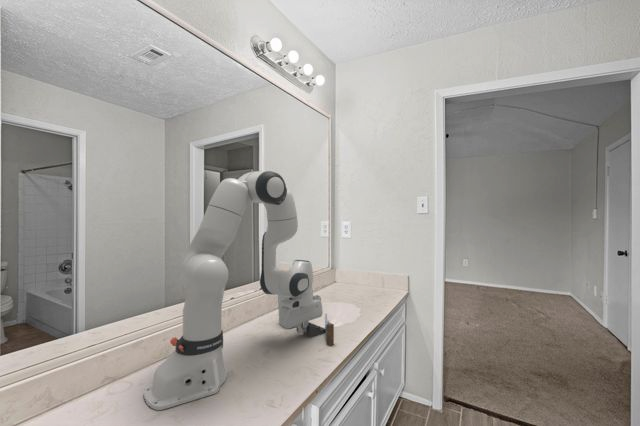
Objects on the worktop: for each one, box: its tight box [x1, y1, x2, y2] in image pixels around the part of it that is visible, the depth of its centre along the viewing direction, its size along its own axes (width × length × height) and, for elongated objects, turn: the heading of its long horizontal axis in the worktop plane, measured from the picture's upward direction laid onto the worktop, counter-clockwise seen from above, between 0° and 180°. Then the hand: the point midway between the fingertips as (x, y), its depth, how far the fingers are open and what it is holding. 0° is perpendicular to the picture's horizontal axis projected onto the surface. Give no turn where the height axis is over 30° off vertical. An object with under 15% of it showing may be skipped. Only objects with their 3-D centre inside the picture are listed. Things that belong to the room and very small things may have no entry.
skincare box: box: [277, 295, 297, 330], centre depth 136 cm, size 8×6×15 cm
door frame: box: [296, 322, 335, 347], centre depth 122 cm, size 2×21×8 cm, turn 43°
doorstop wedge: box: [302, 321, 326, 339], centre depth 126 cm, size 8×5×5 cm, turn 128°
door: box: [324, 313, 330, 335], centre depth 124 cm, size 2×15×6 cm, turn 0°
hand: (302, 332), depth 122 cm, fingers closed
